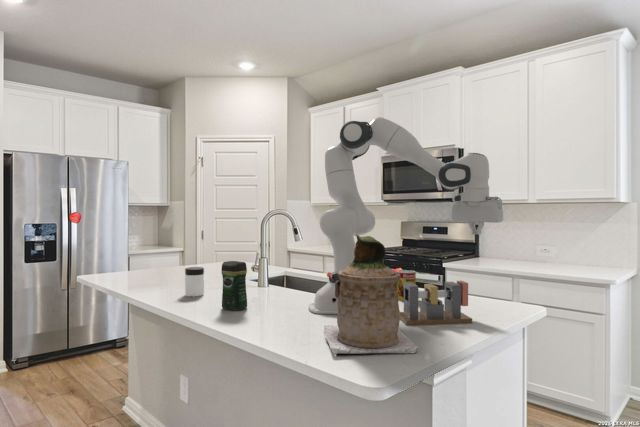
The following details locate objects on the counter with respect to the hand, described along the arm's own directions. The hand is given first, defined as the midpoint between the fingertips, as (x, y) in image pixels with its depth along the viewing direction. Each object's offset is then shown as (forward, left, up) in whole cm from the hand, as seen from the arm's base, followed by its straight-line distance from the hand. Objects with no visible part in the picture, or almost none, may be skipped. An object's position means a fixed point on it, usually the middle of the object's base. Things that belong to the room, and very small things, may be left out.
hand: (476, 234), depth 165 cm
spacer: (-20, -8, -23) cm, 32 cm away
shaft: (-17, -8, -24) cm, 31 cm away
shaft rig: (-20, -8, -29) cm, 36 cm away
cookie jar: (-48, -30, -29) cm, 63 cm away
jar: (-110, +47, -29) cm, 123 cm away
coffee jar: (-90, +18, -29) cm, 96 cm away
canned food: (-19, +25, -29) cm, 43 cm away
